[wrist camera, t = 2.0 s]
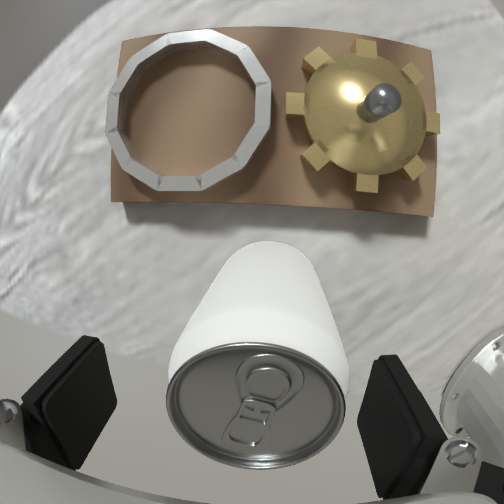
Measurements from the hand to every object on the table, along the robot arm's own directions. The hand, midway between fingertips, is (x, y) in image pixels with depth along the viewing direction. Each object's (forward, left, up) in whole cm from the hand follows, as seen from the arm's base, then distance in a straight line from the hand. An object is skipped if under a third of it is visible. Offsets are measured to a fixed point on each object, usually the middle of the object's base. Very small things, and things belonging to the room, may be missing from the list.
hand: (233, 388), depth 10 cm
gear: (-6, -11, -9) cm, 15 cm away
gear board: (-1, -11, -11) cm, 15 cm away
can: (-1, 0, -11) cm, 11 cm away
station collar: (+4, -11, -9) cm, 15 cm away
